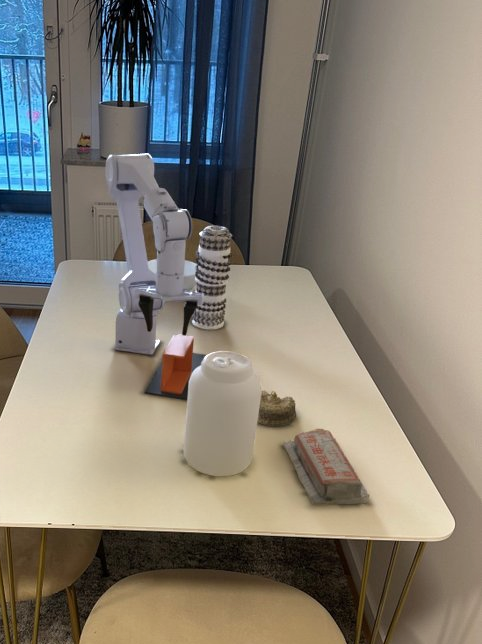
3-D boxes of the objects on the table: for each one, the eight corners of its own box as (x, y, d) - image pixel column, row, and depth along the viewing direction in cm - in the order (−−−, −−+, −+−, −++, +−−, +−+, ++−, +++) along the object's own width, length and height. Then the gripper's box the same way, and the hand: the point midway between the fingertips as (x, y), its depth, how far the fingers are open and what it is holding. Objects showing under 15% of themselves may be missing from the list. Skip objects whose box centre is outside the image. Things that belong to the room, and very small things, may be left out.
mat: (144, 393, 138) (144, 391, 138) (168, 350, 156) (168, 349, 156) (227, 406, 134) (228, 405, 134) (242, 361, 152) (242, 360, 152)
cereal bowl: (200, 301, 185) (202, 277, 181) (142, 299, 185) (143, 275, 181) (197, 280, 199) (199, 258, 195) (143, 278, 199) (144, 256, 195)
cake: (293, 432, 127) (296, 410, 124) (242, 424, 130) (245, 402, 127) (298, 405, 135) (302, 383, 132) (251, 397, 138) (253, 376, 134)
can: (202, 485, 111) (212, 382, 101) (171, 446, 121) (177, 349, 110) (264, 469, 116) (280, 370, 105) (229, 433, 125) (240, 339, 115)
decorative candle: (216, 314, 176) (225, 222, 163) (230, 328, 169) (241, 232, 156) (185, 317, 174) (192, 224, 161) (198, 331, 166) (206, 234, 153)
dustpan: (160, 391, 138) (162, 353, 133) (178, 358, 152) (180, 322, 147) (181, 394, 137) (183, 356, 132) (196, 360, 151) (199, 325, 146)
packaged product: (376, 481, 106) (316, 483, 105) (369, 505, 108) (311, 507, 107) (338, 423, 121) (286, 424, 120) (333, 444, 123) (282, 446, 122)
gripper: (131, 273, 131) (130, 335, 138) (202, 280, 129) (197, 343, 136) (139, 263, 137) (137, 322, 144) (207, 269, 135) (202, 330, 142)
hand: (167, 331), depth 140 cm, fingers open, 7 cm apart
